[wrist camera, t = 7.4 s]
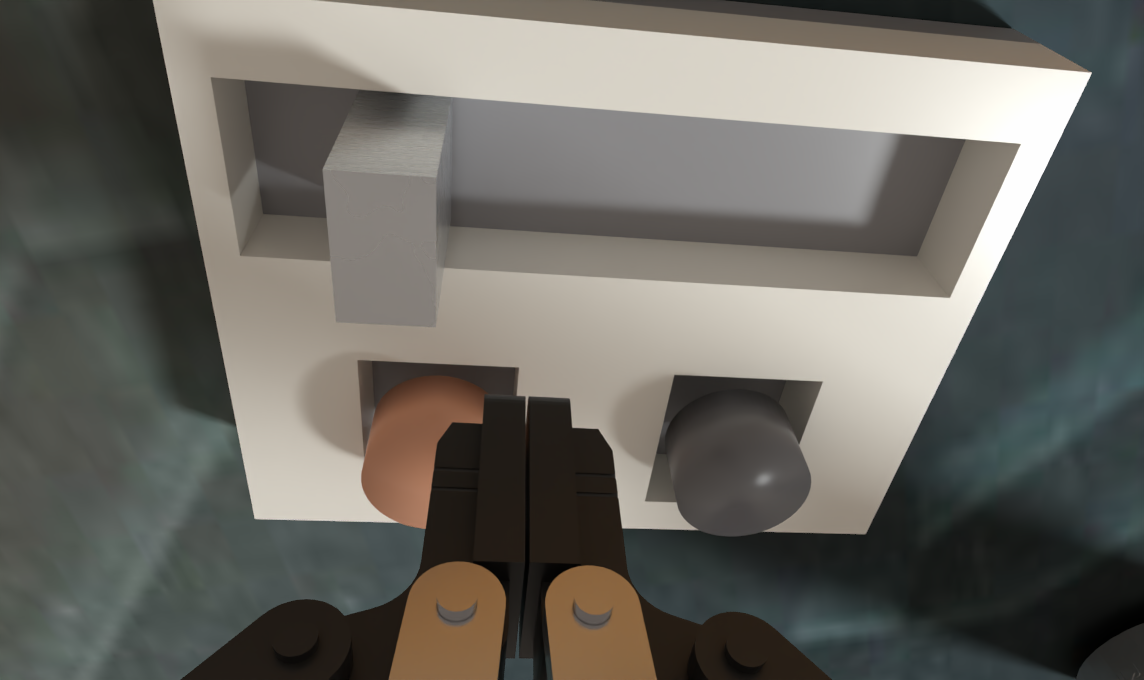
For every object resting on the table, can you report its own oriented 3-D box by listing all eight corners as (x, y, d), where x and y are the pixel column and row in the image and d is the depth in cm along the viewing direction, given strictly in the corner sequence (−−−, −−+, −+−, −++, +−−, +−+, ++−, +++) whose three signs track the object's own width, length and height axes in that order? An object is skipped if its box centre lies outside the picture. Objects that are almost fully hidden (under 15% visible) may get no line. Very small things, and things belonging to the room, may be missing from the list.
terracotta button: (508, 378, 26) (507, 433, 24) (501, 473, 28) (500, 530, 26) (370, 372, 25) (357, 428, 23) (375, 469, 28) (364, 527, 26)
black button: (803, 391, 27) (828, 446, 25) (771, 482, 29) (790, 538, 27) (676, 386, 26) (690, 440, 24) (655, 478, 29) (665, 534, 27)
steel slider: (453, 88, 22) (436, 177, 17) (450, 219, 24) (435, 327, 20) (362, 81, 21) (322, 169, 17) (370, 214, 24) (336, 322, 19)
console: (1013, 28, 24) (1091, 72, 20) (832, 460, 34) (865, 534, 31) (205, -52, 21) (149, -16, 18) (281, 441, 32) (254, 518, 28)
